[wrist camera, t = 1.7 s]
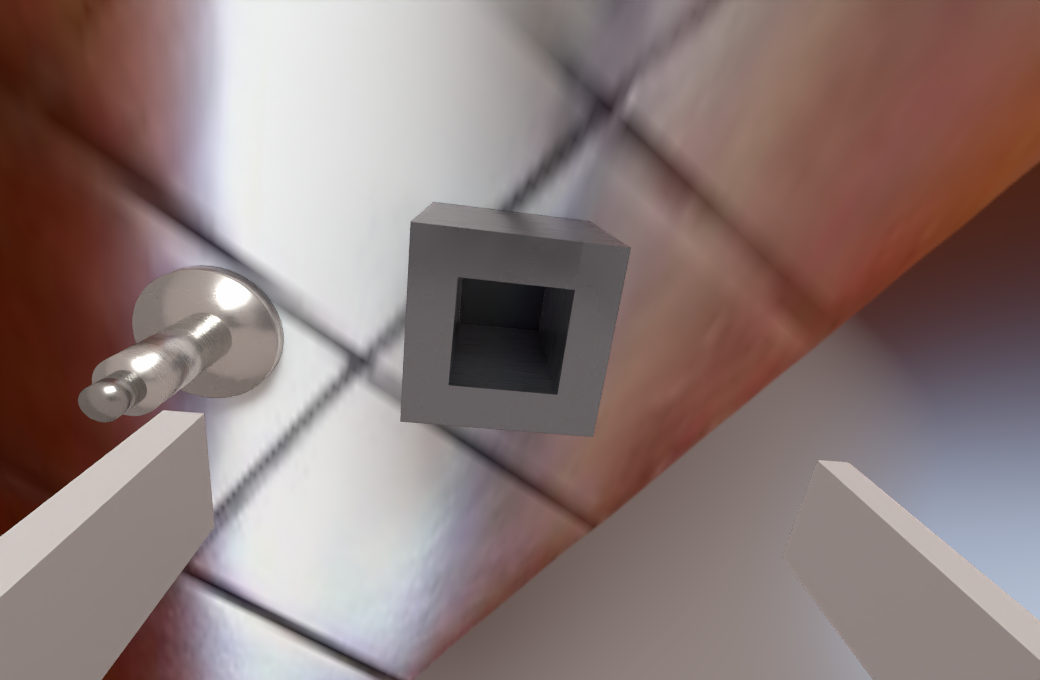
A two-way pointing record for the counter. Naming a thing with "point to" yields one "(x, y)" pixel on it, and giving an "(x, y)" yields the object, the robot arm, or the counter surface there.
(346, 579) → the counter surface
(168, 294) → the hub
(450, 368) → the block
